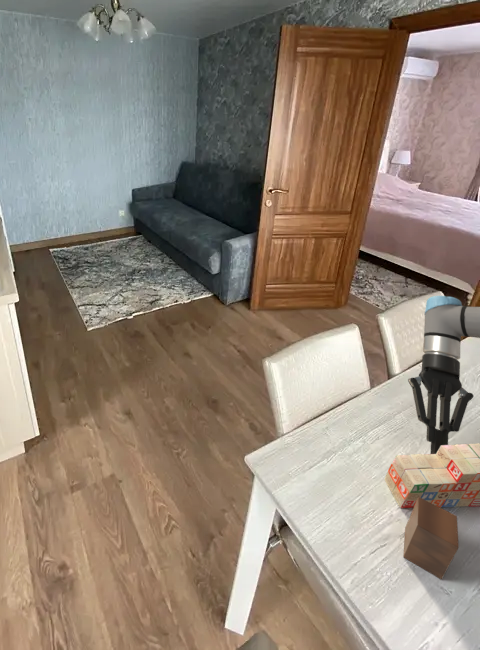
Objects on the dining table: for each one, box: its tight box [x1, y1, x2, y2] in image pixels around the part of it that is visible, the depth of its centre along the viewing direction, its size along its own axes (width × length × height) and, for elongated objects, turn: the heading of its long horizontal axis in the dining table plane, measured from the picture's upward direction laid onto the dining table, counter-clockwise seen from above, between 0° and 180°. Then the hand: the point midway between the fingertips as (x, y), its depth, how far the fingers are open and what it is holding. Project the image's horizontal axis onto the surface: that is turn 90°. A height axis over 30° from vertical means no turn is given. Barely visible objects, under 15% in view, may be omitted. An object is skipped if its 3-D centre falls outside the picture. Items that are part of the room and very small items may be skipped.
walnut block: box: [402, 497, 460, 580], centre depth 65 cm, size 6×6×10 cm
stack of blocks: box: [383, 443, 480, 509], centre depth 74 cm, size 21×6×12 cm, turn 92°
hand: (436, 459), depth 79 cm, fingers closed
